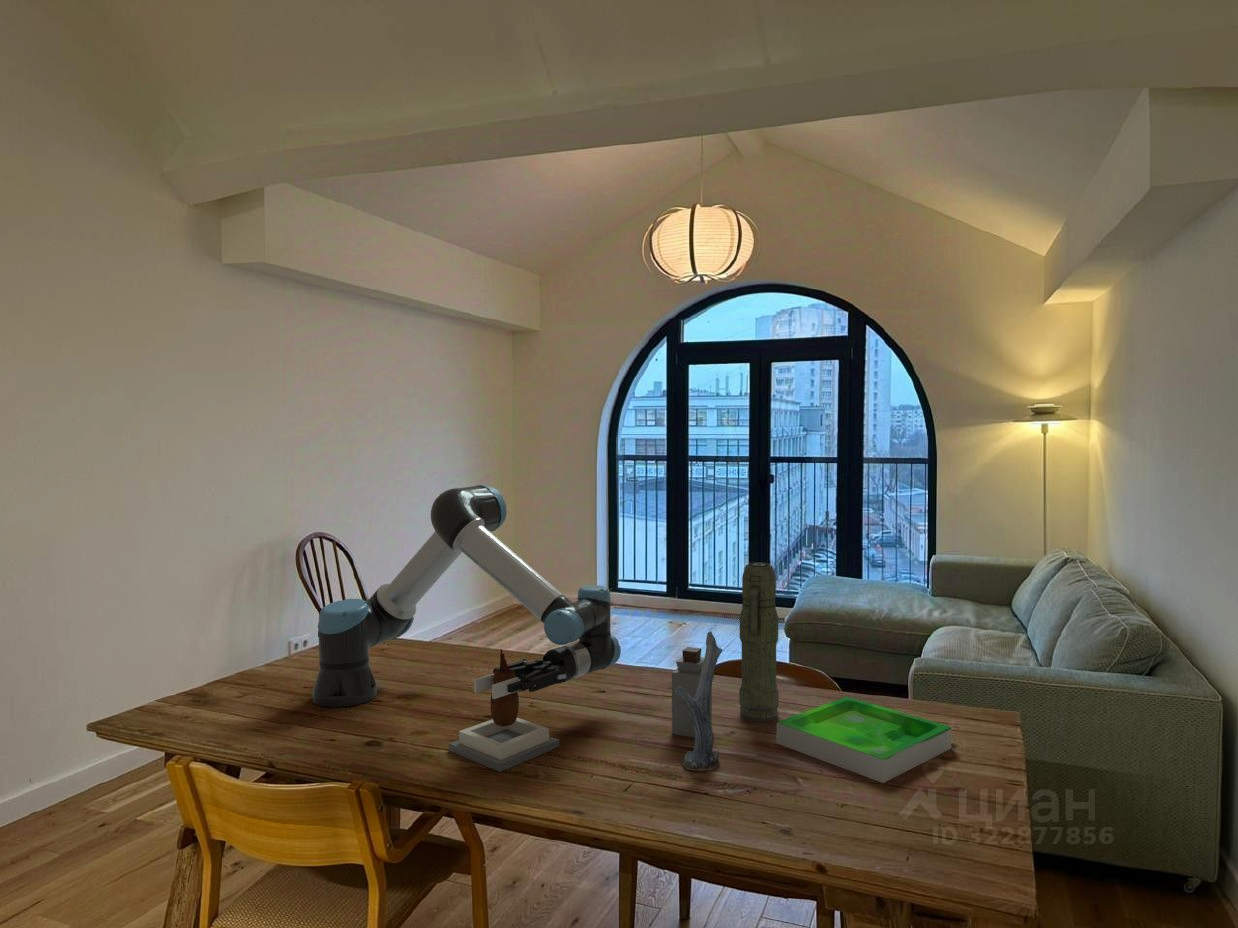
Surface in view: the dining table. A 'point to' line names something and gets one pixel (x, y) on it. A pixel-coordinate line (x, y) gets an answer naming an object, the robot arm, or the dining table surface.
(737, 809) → the dining table surface
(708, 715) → the antler
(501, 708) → the wooden figurine
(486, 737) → the socket plinth
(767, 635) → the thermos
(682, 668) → the perfume bottle
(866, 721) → the tray
